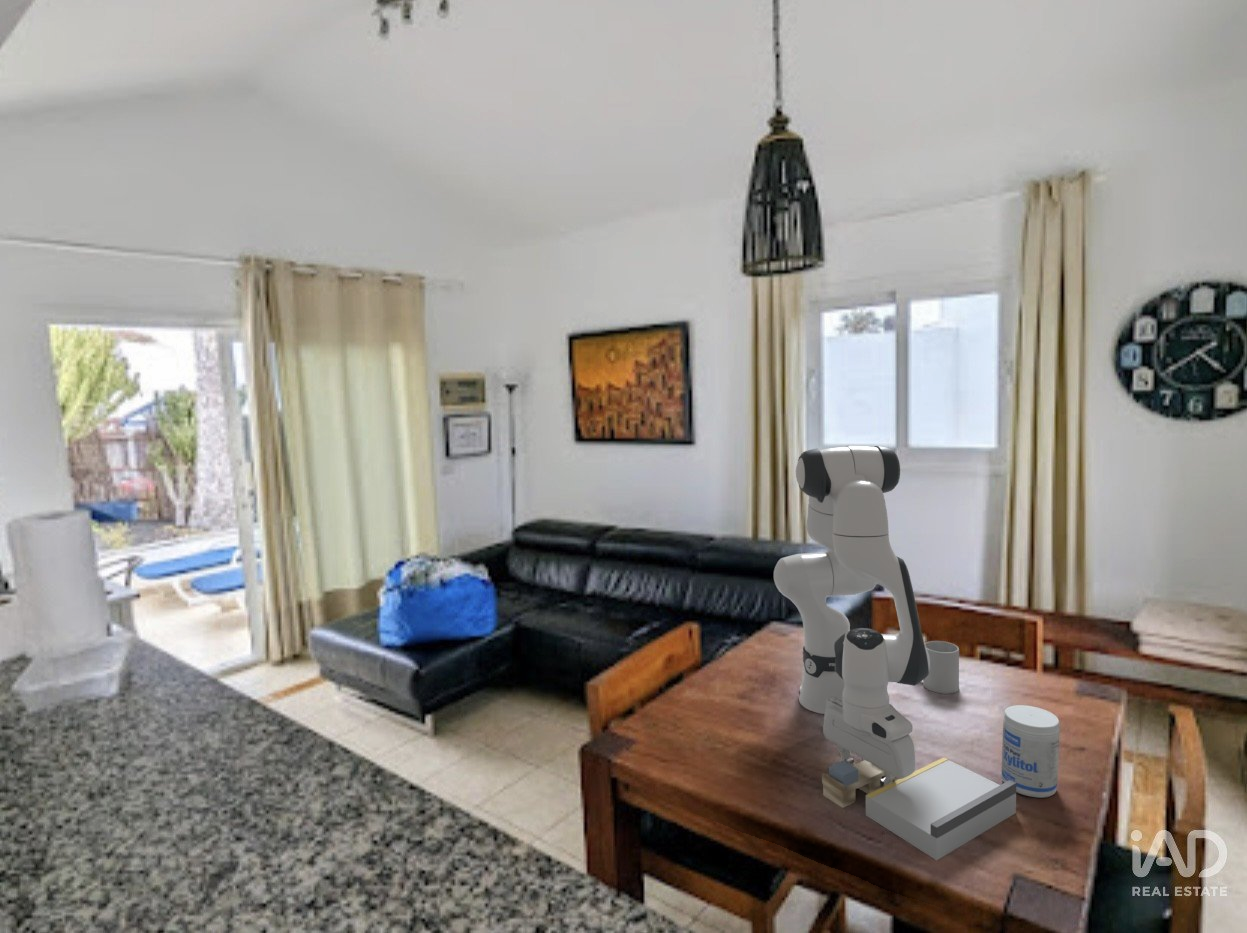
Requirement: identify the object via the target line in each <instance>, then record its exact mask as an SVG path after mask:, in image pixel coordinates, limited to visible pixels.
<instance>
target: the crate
mask: <svg viewBox="0 0 1247 933" xmlns="http://www.w3.org/2000/svg"><path fill="white" fill-rule="evenodd" d="M828 775H829V776H830V777H832V778H834V779H835V780H837V781H839V782H840V783H842V784H843V785H845V787H847V786H849V785H851V784H853V783H855V782H857V781H858V769H857V768H855V767H854V766H852V765H850V764H848V763H847V762H845V761H839V762H837V763H834V764H831V765H830V766H828Z"/></svg>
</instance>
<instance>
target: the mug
mask: <svg viewBox="0 0 1247 933" xmlns="http://www.w3.org/2000/svg"><path fill="white" fill-rule="evenodd" d="M924 643H925V645H926V648H927V651H928V654H929V659H930V669H929V675H928V676H927V677H926V678H925V679H924V680H922V682H923V683H922V684H923V686H924V688H925V689H927V690H928V691H930V692H933V693H938V694H942V695H943V694H944V695H945V694H946V695H948V694H956V693H957V692H958V691H959V689H960V649H959V646H957V645H956V644H954V643H951V642H948V641H941V640H931V641H927V642H924Z"/></svg>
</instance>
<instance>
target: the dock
mask: <svg viewBox="0 0 1247 933" xmlns="http://www.w3.org/2000/svg"><path fill="white" fill-rule="evenodd" d="M1016 813H1017V792H1016V782H1013V781H1011V780H1009V781H1007V782H1005V783H1004V782H1003V783H1002V784H999V783H996V782H994V781H992V780H990V779H988V778H986V777H984V776H982V775H980V774H979V773H975V772H974V771H972V770H970V769H968V768H967V767H964V766H962V765H960V764H958V763H956V762H953V761H951V760H949V759H948V758H946V757H941V758H940V759H937V760H935V761H933V762H931V763H929V764H927V765H925V766H923V767H921V768H919V769H916V770H914V772H913V773H912V774H911V775H909V776H907V777H905V778H903V779H898V780H896V781H894V782H893V781H892V783H890V784H888V785H886V786H884V787H882V788H880V789H878V790H876V791H874V792H871V793H869V794H867V793H866V795H865V816H866V817H867V818H869V819H871V820H873V821H875V822H876V823H878V824H879V825H881V826H882V827H884V828H885V829H887V831H890V832H891V833H893V834H894V835H896V836H898V837H900V838H901V839H902V840H904V841H906V842H907V843H908V844H910V845H911V846H914V847H915V848H917V849H918V850H920V851H921V852H923V853H924V854H926V855H928V856H929V857H930V858H931V859H932V858H933V860H935V861H938V860H940V859H942V858H944V857H946V856H947V855H948V854H950V853H952V852H954V851H956V850H957V849H958V848H960V847H962V846H963V845H965V844H967V843H968V842H970V841H972V840H973V839H976V838H977V837H979V836H980V835H982V834H984V833H985V832H987V831H988V830H990V829H992V828H993V827H995V826H997V825H999V824H1000V823H1001V822H1004V821H1005V820H1007V819H1008V818H1011V816H1013V815H1015V814H1016Z"/></svg>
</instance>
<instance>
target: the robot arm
mask: <svg viewBox="0 0 1247 933" xmlns="http://www.w3.org/2000/svg"><path fill="white" fill-rule="evenodd" d="M795 477H796V482H797V484H798V487H799V489H800V490H801V491H802V492H803V493H804V494H805V495H806V496H808V503H807V504H808V507H807V518H806V532H807V533H808V536H809V537H810V539H812V540H813V541H814V542H816V543H817V544H818V545H820V546H823V547H825V548H827V550H826V551H822V552H805V553H804V552H802V553H796V554H791V555H788V556H784V557H781V558H780V559H779V560H778V561H777V563H776V565H775V567H774V570H773V581H774V585H775V586H776V588H777V590H778V592H780V593H781V595H783V597H785V598H787V599H789V600H790V601H791V602H792V604H794V605H795V607H796V608H797V610H798V612H799V614H800V616H801V617H800V618H801V620H802V627H803V638H804V639H803V640H804V642H803V643H804V644H803V645H804V646H803V647H802V662H803V667H802V675H801V676H802V677H801V685H800V686H799V697H798V701H799V703H800V705H801V706H802V707H803V708H805V709H807V710H808V711H810V712H814V713H816V714H817V713H818V714H821V715H824V717H823V726H822V733H823V735H824V738H825V739H826V740H828V741H829V742H831V743H833V744H835V745H836V746H837V750H838V753H839V755H840V757H841V760H842V761H845V762H847V763H848V764H850V765H852V766H853V765H855V763H854V762H855V760H854V758H852V756H851V754H853V755H855V756H857V757H859V758H861V759H863V761H864V760H866V761H868V762H870V763H872V764H873V765H875V766H877V767H879V768H881V769H883V770H884V774H885V775H887V776H886V777H883V778H882V779H881V780H880V784H881V785H880V787H881V788H882V787H884V786H886V785H888V784H890V783H892V782H893V781H892V780H893V779H894V778H895V777H897V778H899V779H903V778H905V777H907V776H909V775H911V774H912V773H913V772H915V771H916V770H915V769H916V752H915V744H914V740H913V739H912V737H911V735H909V734H910V733H912V732H913V723H912V722H911V721H910V720H909V719H908V718H906V717H905V716H904V715H903V714H901V713H900V712H899V711H898V710H897V709H896V708H895V707H894V706H893V705H892V704H891V703H890V696H889V693H888V684H889V683H897V684H902V685H909V686H916V685H918V684H920V683H921V682H923V680H924V679H925V678H926V677H927V676H928V675H929V669H930V659H929V654H928V651H927V648H926V645H925V643H926V642H925V641H924V640H925V639H924V638H923V634H922V627H921V622H920V618H919V612H918V607H917V603H916V596H915V593H914V588H913V586H912V585H913V584H912V581H911V576H910V573H909V568H908V567H907V564H906V562H905V561H904V559H903V558H901V557H899V556H897V555H896V554H895V552H894V550H893V549H892V546H891V543H890V537H889V532H890V531H889V519H888V518H889V517H888V510H887V505H886V500H885V496H884V494H885V493H889V492H892V491H893V490H894V489H895V488H896V486H898V483H900V478H901V463H900V460H899V457H898V454H896V452H895V451H894V450H893V449H892V448H890V447H886V446H882V445H881V446H880V445H874V446H866V445H845V446H837V447H827V448H822V449H819V448H812V449H809V450H805V451H803V452H802V453H801V454H800V455H799V457H798V459H797V463H796V467H795ZM876 585H879V586H881V587H883V588H885V589H886V590H887V591H889V593H890V594H891V595H892V597H893V600H894V606H895V610H896V615H897V620H898V625H899V629H900V630H899V632H897V633H895V634H894V633H893V634H890V633H889V634H888V633H880V632H879V631H877V630H875V629H872V628H868V627H857V628H853V629H851V628H850V627H851V624H850V621H849V619H848V617H847V615H846V614H844V613H843V612H842V611H840V610H839V609H836V608H834V607H831V606H828V605H827V598H829V597H839V596H840V597H841V596H842V597H843V596H856V595H859V594H863V593H867V592H869V591H873V590H874V588H875V587H876ZM850 753H851V754H850Z"/></svg>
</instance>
